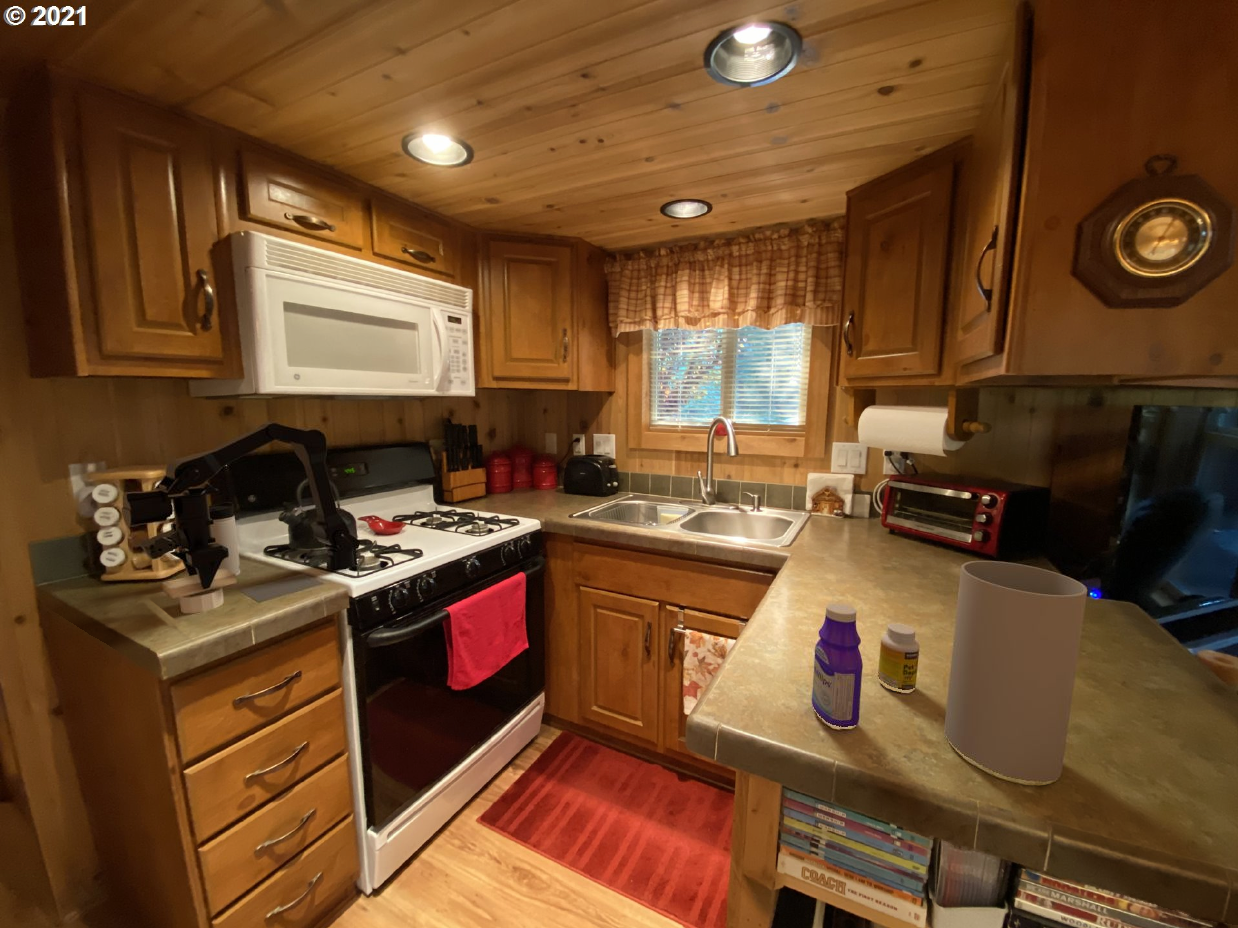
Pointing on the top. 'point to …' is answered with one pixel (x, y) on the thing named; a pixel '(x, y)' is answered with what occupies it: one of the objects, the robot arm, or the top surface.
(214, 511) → the travel mug
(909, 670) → the supplement bottle
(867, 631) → the top surface
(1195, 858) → the top surface
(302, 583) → the rubber mat
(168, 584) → the birch board
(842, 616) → the bottle
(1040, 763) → the cylinder vase
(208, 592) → the ceramic bowl
